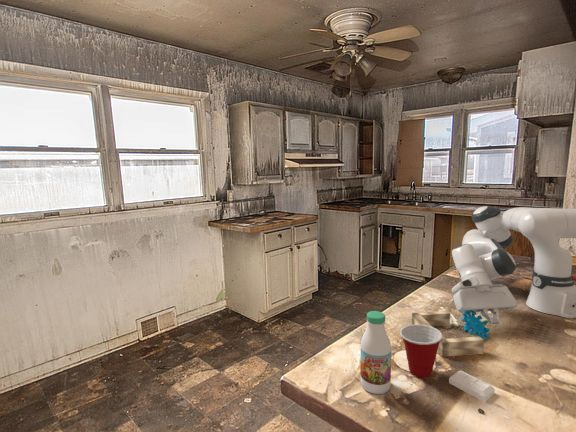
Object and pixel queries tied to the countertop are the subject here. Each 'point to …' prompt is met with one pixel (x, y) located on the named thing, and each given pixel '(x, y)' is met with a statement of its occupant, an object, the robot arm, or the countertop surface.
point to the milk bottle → (375, 355)
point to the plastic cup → (421, 348)
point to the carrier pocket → (454, 344)
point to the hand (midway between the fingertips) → (494, 323)
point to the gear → (475, 324)
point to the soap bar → (472, 385)
